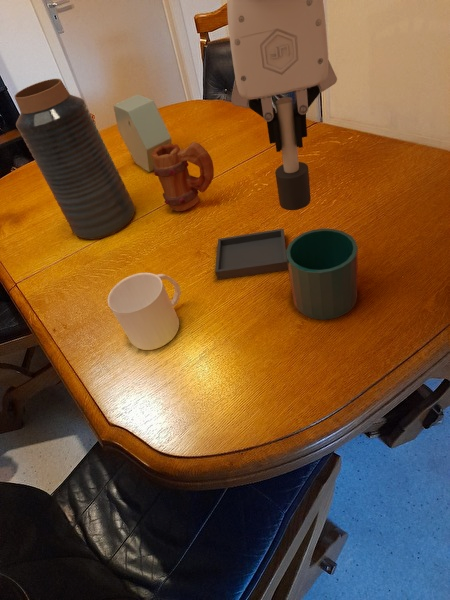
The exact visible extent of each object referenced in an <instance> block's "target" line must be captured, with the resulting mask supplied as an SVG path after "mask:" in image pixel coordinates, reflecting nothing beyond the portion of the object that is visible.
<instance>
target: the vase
mask: <svg viewBox="0 0 450 600" xmlns="http://www.w3.org/2000/svg"><path fill="white" fill-rule="evenodd" d="M13 97H14V99H15V102H16V104H17V107H18V109H19V111H20V114H19V116H18V118H17V120H16V122H15V126H16V128H17V131H18V132H19V133H20V136H21V138H23V141H24V143H25V144H26V147H27V148H28V150H29V152H30V154H31V156H32V158H33V159H34V161H35V163H36V165H37V167H38V169H39V171H40V173H41V174H42V176H43V178H44V180H45V182H46V184H47V186H48V188H49V190H50V191H51V192H52V195H53V197H54V199H55V201H56V202H57V205H58V207H59V208H60V211H61V212H62V214H63V216H64V218H65V220H66V222H67V223H68V225H69V228H70V229H71V231H72V232H73V234H74V235H75V236H76V237H79V238H81V239H86V240H97V239H102V238H105V237H108V236H110V235H113V234H115V233H117V232H119V231H121V230H122V229H123V228H124V227H126V226H127V225H128V224H129V222H131V220H132V219H133V217H134V214H135V213H136V206H135V204H134V201H133V199H132V197H131V195H130V193H129V191H128V189H127V187H126V184H125V183H124V181H123V179H122V176H121V174H120V172H119V170H118V169H117V166H116V165H115V163H114V161H113V159H112V156H111V154H110V152H109V151H108V148H107V147H106V144H105V142H104V140H103V138H102V136H101V133H100V132H99V129H98V128H97V125H96V123H95V121H94V119H93V118H92V115H91V113H90V111H89V109H88V108H87V104H86V102H85V100H84V99H83V98H82V97H79V96H77V95H73V94H71V93H70V92H69V90H68V89H67V87H66V86H65V84H64V83H63V81H62V79H61V78H49V79H45V80H43V81H38V82H36V83H34V84H31V85H29V86H26V87H25V88H23V89H21V90H19V91H18V92H17V93H15V94H14V96H13Z"/></svg>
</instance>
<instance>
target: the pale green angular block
mask: <svg viewBox="0 0 450 600" xmlns="http://www.w3.org/2000/svg"><path fill="white" fill-rule="evenodd" d="M112 107H113V111H114V117H115V121H116V126H117V132H119V135H120V137H121V139H122V141H123V142H124V145H125V147H126V148H127V150H128V152H129V154H130V156H131V158H132V160H133V162H134V163H135V165H137V166H138V167H140V168H142V170H145V171H146V172H148V173H151V172H153V171H154V168H153V165H154V161H153V158H152V152H153V151H154V150H155V149H156V148H158V147H160V146H163V147H164V146H166V145H169V144H173V143H172V136H171V134H170V132H169V130H168V127H167V125H166V124H165V122H164V119H163V117H162V115H161V113H160V111H159V109H158V107H157V105H156V102H155V100H154V99H152V98H150V97H146V96H144V95H141V94H135V95H133V96H130V97H128V98H126V99H124V100H122V101H119V102H117V103H115V104H113V106H112Z"/></svg>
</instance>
